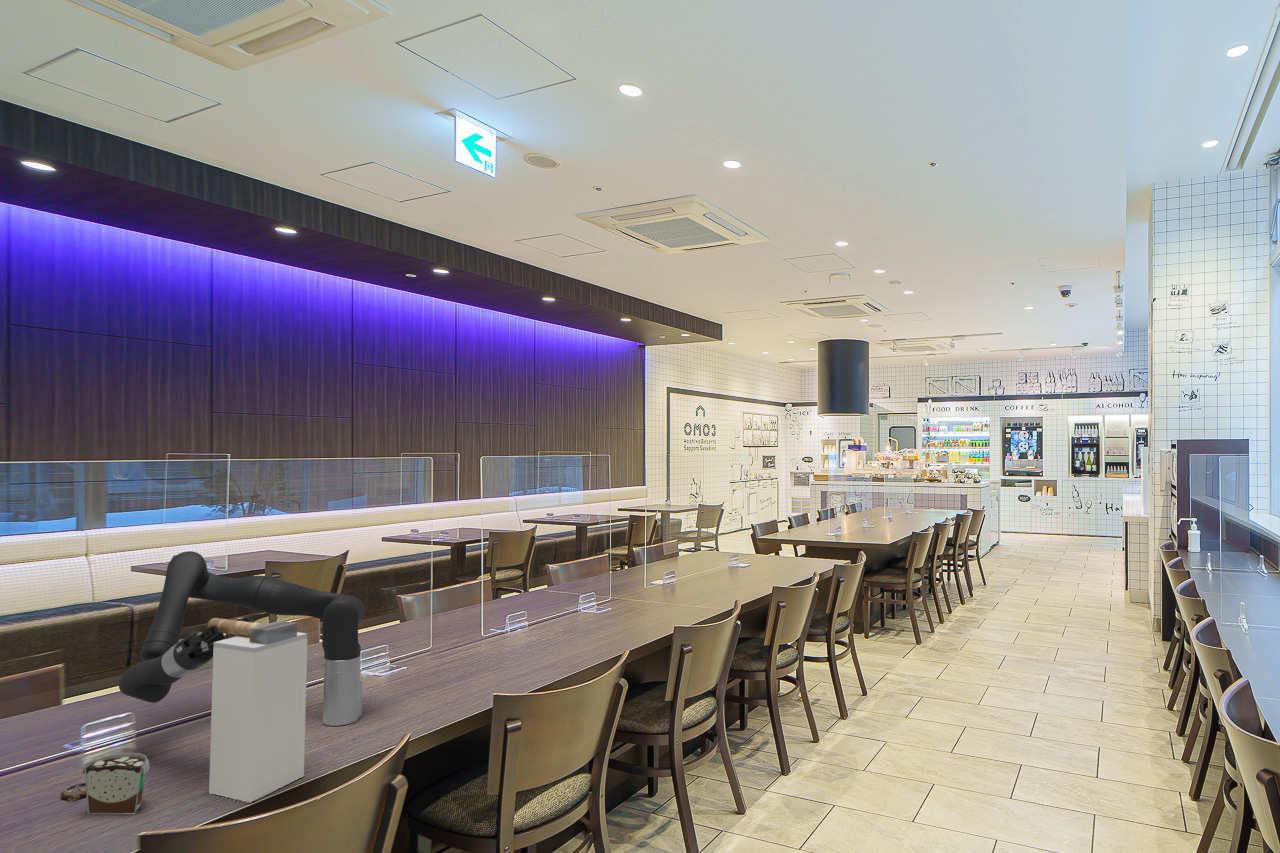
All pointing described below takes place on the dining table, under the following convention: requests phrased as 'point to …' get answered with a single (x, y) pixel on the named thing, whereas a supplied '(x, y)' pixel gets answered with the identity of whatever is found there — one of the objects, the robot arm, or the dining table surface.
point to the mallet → (257, 630)
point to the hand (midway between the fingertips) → (233, 625)
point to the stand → (257, 716)
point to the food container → (115, 783)
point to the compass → (75, 792)
